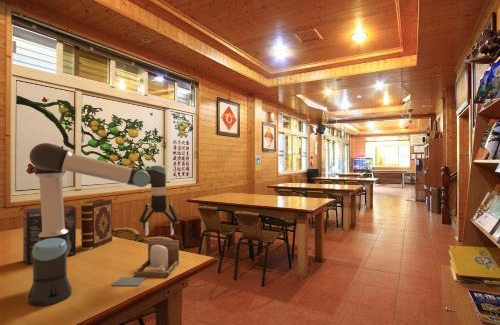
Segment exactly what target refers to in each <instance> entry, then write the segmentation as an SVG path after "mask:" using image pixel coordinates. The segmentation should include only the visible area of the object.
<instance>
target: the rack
mask: <svg viewBox="0 0 500 325" xmlns="http://www.w3.org/2000/svg"><path fill="white" fill-rule="evenodd" d="M179 244H180V241H179V240H178V239H148V240H147V260H146V261H145V262H144V263H143V264H141V265H140V266H139V267H138V268H137V269H136V270H135V271H134V273H133V274H134V276H133V277H146V278H167V277H166V276H169V277H170V276H171V274H172V273H173V272H174V270H176V268H177V267H178V266H179V264H180V245H179ZM154 245H162V246H164V247H166V248H167V249H168V265H171V266H170V267H168V269H167V270H166V272H143V270H144V269H145V267H148V265H149V264H150V249H151V247H152V246H154ZM176 266H177V267H176ZM175 267H176V268H175ZM172 271H173V272H172ZM171 272H172V273H171ZM170 273H171V274H170ZM164 276H165V277H164Z"/></svg>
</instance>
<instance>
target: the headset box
mask: <svg viewBox="0 0 500 325" xmlns="http://www.w3.org/2000/svg"><path fill="white" fill-rule="evenodd" d="M22 211H23V216H22V218H23V222H22V224H23V227H22V228H23V232H22V233H23V235H22V236H23V240H22V241H23V251H22V252H23V253H22V255H23V257H22V260H23V262H24V263H25V264H26V265H31V264H32V265H33V255H32V251H33V246H34V245H35V244H36V243H37V242H39V234H40V233H41V232H42V215H41V205H40V207H35V208H24V209H23V210H22ZM76 211H77V207H76V206H75V205H71V204H68V205H67V204H66V205H64V222H65V228H66V229H67V230H69V240H70V242H71V249H70V252H69V253H68V256H67V257H71V256H76V255H77V253H76V252H77V250H76V249H77V247H76V245H77V243H76V240H77V237H76V235H77V231H76V230H77V228H76V227H77V225H76V224H77V221H76V220H77V217H76V216H77V213H76Z"/></svg>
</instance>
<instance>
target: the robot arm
mask: <svg viewBox="0 0 500 325" xmlns="http://www.w3.org/2000/svg"><path fill="white" fill-rule="evenodd" d="M29 162H30V163H31V164H32V166H33V168H34V175H35V176H36V177H37V178H38V180H39V181H38V182H39V195H40V206H41V215H42V232H41V233H40V234H39V242H37V243H36V244H35V245H34V246H33V251H32V255H33V263H32V285H31V287H30V290H29V293H28V296H27V304H28V305H29V306H32V307H33V306H34V307H43V306H44V307H45V306H50V305H53V304H56V303H60V302H62V301H64V300H66V299H68V298H69V297H70V296H71V295H72V294H73V292H72V289H73V288H72V286H71V284H70V281H69V280H70V279H68V276H67V273H68V272H67V271H68V269H67V266H68V265H67V261H68V260H67V258H68V257H69V256H68V253H69V252H70V249H71V242H70V240H69V230H67V229H66V228H65V222H64V206H65V205H64V192H63V190H64V189H63V188H64V187H63V176H64V175H65V174H66V171H67V172H72V173H76V174H80V175H86V176H90V177H94V178H95V177H96V178H99V179H104V180H108V181H114V182H118V183H122V184H126V185H128V186H135V187H139V188H144V187H146V186H148V185H150V195H151V196H150V198H151V199H150V200H151V203H146V204H145V206H144V209H143V213H142V214H141V216H140V218H139V222H141V223H142V225H143V227H142V228H143V230H144V236H145V237H147V236H148V235H149V220H150V218H151V217H152V216H153V214H154V213H156V214H157V213H160V214H161V213H163V214H165V216H166V217H167V218H168V219H169V221H171V222H170V236H173V235H174V233H175V230H174V229H176V222H179V217H178V215H177V213H176V211H175V209H174V206H173V203H170V204H168V203H167V195H166V194H167V184H166V183H167V180H166V179H167V176H166V175H167V172H166V167H165V165H151V166H150V169H137V168H133V167H130V166H129V167H128V166H124V165H120V164H116V163H112V162H108V161H104V160H100V159H97V158H96V159H95V158H91V157H87V156H85V155H84V156H83V155H78V154H76V153H72V152H71V151H70V150H68V149H65V148H62V147H61V146H60V145H57V144H54V143H53V144H52V143H49V142H43V143H39V144H37V145H35V146H34V147H33V148H31V150H30V152H29ZM150 208H151V210H150V212H149V209H150ZM167 208H168V209H169V211H170V212H169V211H168V209H167ZM148 212H149V213H148ZM147 213H148V214H147ZM146 215H147V216H146Z"/></svg>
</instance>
